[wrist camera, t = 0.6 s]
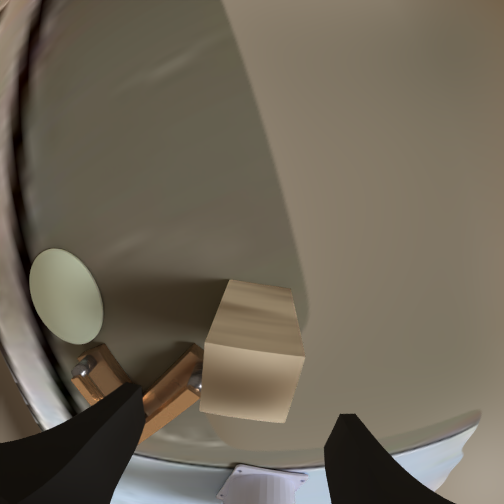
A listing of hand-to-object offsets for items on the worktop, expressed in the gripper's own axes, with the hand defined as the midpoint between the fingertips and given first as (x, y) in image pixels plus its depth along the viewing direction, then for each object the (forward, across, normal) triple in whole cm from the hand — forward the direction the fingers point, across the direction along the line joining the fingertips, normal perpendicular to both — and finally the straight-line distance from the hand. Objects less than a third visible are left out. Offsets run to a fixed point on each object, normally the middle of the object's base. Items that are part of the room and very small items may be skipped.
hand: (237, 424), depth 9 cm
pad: (+10, +15, +2) cm, 19 cm away
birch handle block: (+10, 0, 0) cm, 10 cm away
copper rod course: (+10, +8, +8) cm, 16 cm away
